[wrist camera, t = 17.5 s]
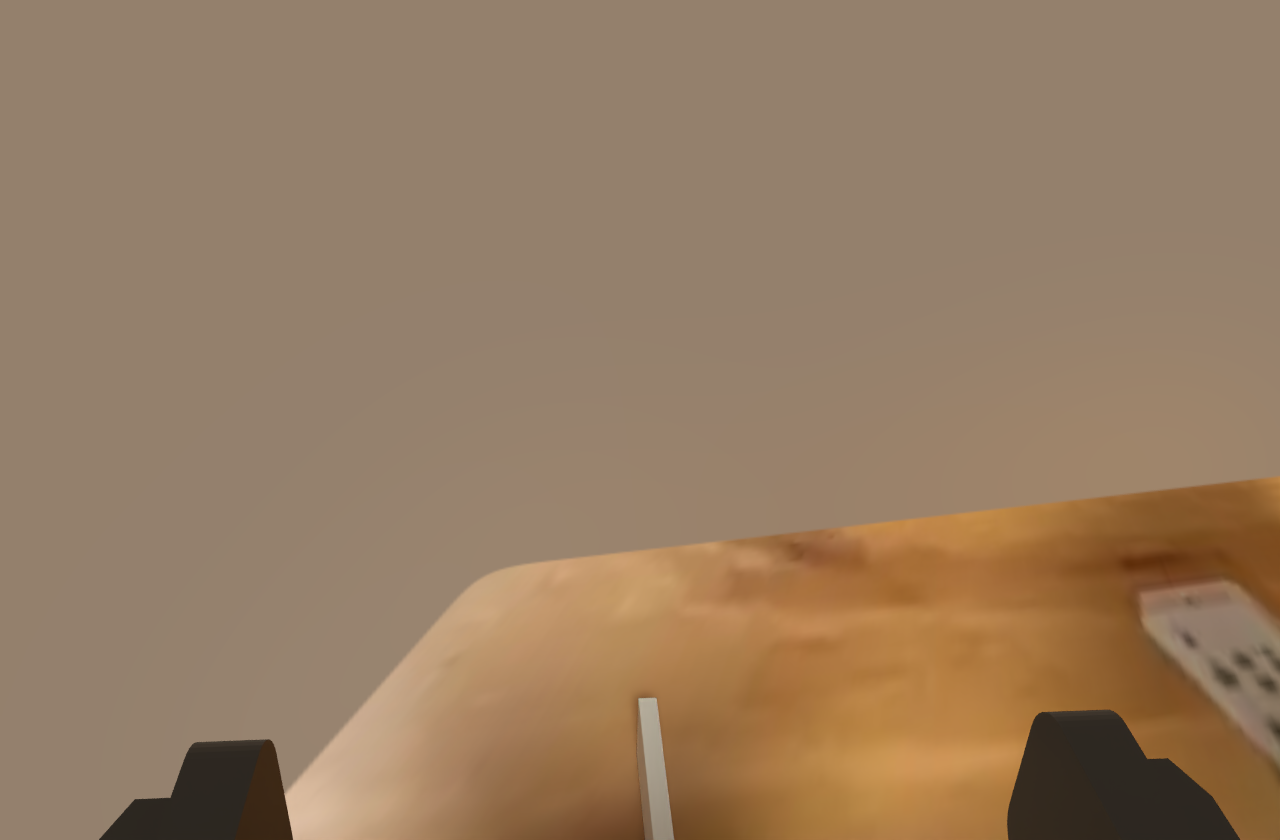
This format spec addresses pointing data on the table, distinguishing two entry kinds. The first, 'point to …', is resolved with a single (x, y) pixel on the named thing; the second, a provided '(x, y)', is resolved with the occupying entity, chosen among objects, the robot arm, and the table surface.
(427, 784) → the table surface
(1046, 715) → the robot arm
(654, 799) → the low wall
